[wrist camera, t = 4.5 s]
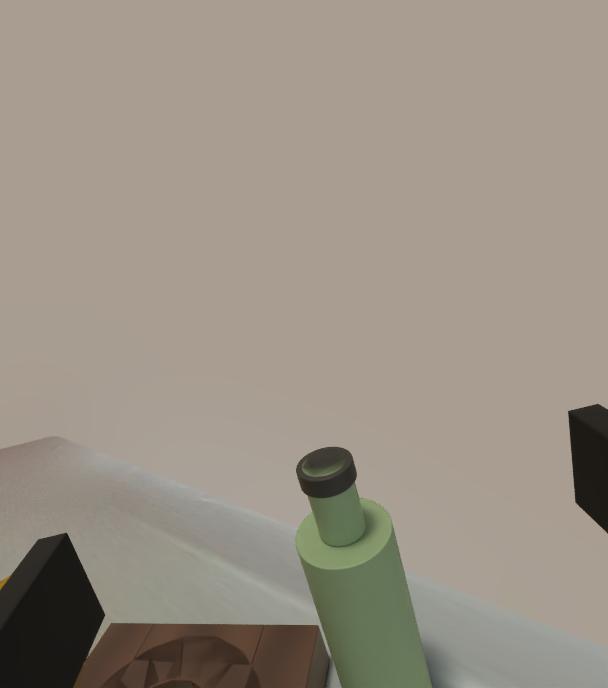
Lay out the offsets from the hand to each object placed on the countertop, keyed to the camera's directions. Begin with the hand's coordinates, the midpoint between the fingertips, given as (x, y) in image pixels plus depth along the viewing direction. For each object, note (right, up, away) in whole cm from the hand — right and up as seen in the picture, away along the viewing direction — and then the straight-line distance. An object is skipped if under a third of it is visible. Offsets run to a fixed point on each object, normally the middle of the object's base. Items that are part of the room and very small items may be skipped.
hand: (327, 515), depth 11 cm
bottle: (+4, -16, +14) cm, 22 cm away
